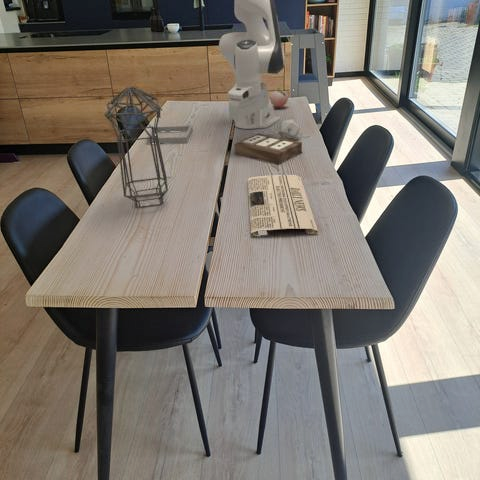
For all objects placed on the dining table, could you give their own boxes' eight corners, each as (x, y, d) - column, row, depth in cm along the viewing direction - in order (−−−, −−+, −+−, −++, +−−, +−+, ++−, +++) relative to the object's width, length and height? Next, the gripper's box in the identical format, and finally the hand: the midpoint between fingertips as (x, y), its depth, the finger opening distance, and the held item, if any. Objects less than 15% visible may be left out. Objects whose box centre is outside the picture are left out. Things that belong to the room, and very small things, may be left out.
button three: (257, 142, 183) (257, 134, 181) (266, 144, 180) (266, 136, 179) (243, 148, 177) (242, 140, 176) (251, 150, 175) (251, 142, 173)
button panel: (258, 143, 187) (258, 133, 185) (301, 152, 175) (301, 142, 173) (234, 153, 177) (234, 143, 175) (278, 164, 165) (278, 153, 163)
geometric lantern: (123, 215, 136) (99, 95, 118) (124, 193, 149) (103, 83, 131) (175, 208, 138) (160, 90, 120) (172, 188, 151) (157, 78, 134)
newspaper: (247, 184, 153) (247, 176, 151) (305, 181, 152) (305, 173, 151) (250, 239, 121) (250, 230, 119) (324, 235, 120) (324, 226, 119)
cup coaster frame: (155, 132, 207) (154, 126, 206) (192, 130, 206) (192, 125, 205) (147, 144, 192) (146, 138, 191) (187, 143, 191) (186, 137, 190)
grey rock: (273, 141, 190) (279, 127, 181) (279, 126, 193) (285, 111, 185) (292, 148, 190) (298, 134, 181) (297, 133, 194) (303, 118, 185)
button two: (283, 148, 176) (283, 140, 174) (293, 150, 173) (293, 142, 171) (269, 155, 170) (269, 146, 168) (279, 157, 167) (279, 149, 166)
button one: (270, 145, 179) (270, 137, 178) (279, 147, 177) (279, 139, 175) (256, 151, 174) (255, 143, 172) (265, 154, 171) (265, 146, 169)
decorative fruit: (266, 109, 233) (266, 88, 228) (275, 105, 238) (275, 85, 233) (281, 111, 227) (281, 90, 222) (290, 107, 233) (290, 87, 227)
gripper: (259, 80, 177) (260, 115, 185) (224, 94, 165) (227, 131, 172) (272, 82, 174) (273, 117, 181) (237, 96, 161) (240, 134, 169)
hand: (250, 124), depth 177 cm, fingers closed
